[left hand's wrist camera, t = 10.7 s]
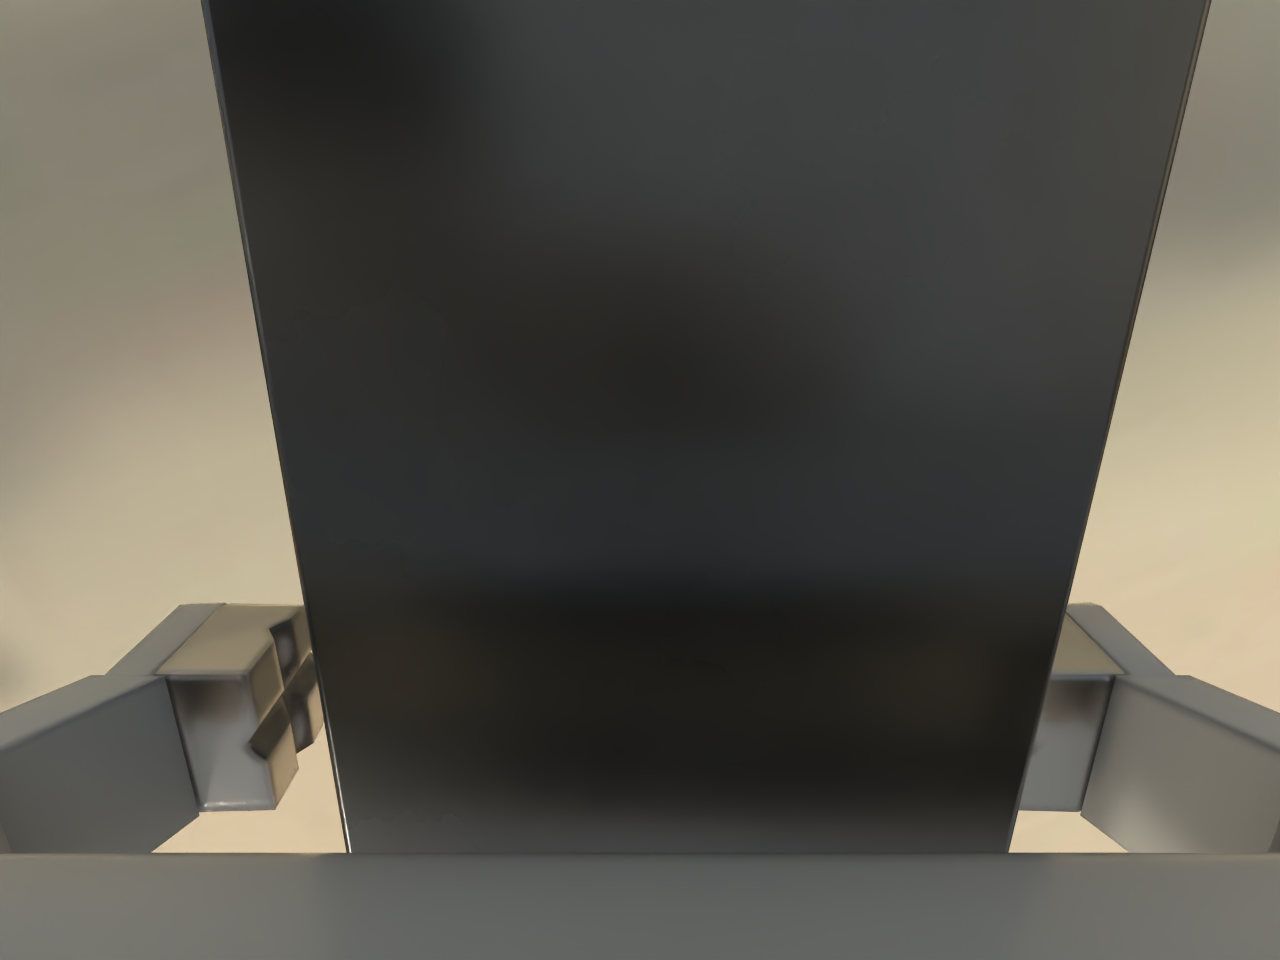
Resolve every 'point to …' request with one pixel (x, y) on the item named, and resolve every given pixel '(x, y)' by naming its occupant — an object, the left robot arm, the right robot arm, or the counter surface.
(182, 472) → the counter surface
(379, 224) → the box
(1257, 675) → the counter surface
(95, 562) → the counter surface
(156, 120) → the counter surface
